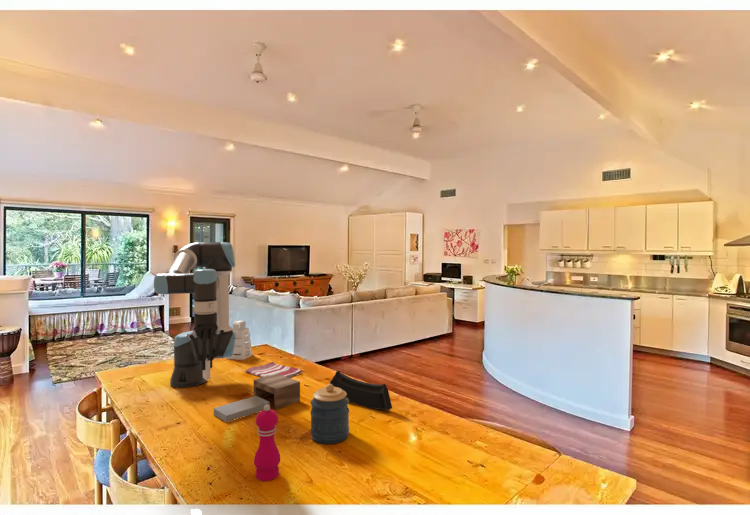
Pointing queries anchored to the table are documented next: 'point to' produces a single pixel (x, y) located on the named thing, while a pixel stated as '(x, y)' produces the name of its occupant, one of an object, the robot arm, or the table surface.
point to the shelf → (278, 389)
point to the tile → (240, 408)
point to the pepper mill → (267, 446)
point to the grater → (241, 341)
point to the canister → (329, 415)
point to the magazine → (363, 392)
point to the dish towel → (273, 370)
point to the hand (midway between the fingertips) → (206, 378)
